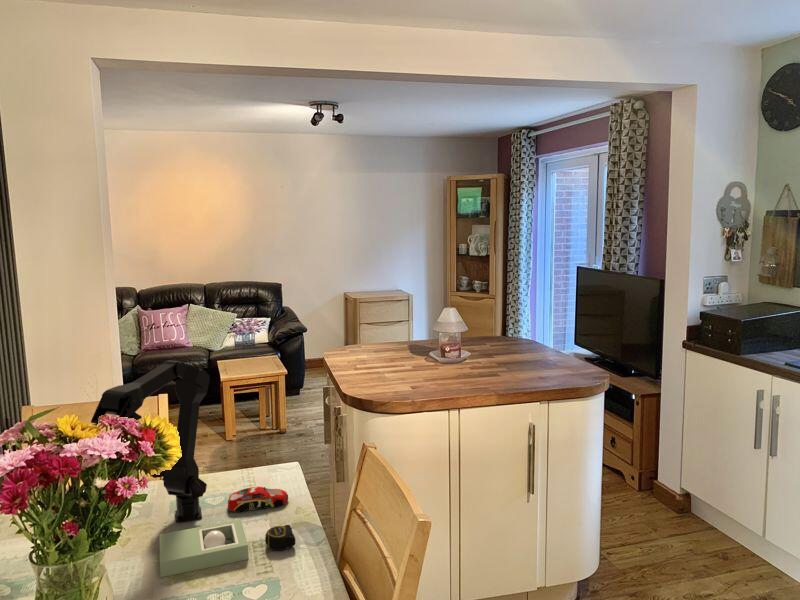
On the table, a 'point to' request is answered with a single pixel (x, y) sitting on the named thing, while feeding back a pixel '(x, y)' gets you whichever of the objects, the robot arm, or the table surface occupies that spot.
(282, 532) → the tape measure
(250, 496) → the race car
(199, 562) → the green
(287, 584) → the table surface
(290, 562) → the table surface
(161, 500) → the table surface
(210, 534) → the ball
